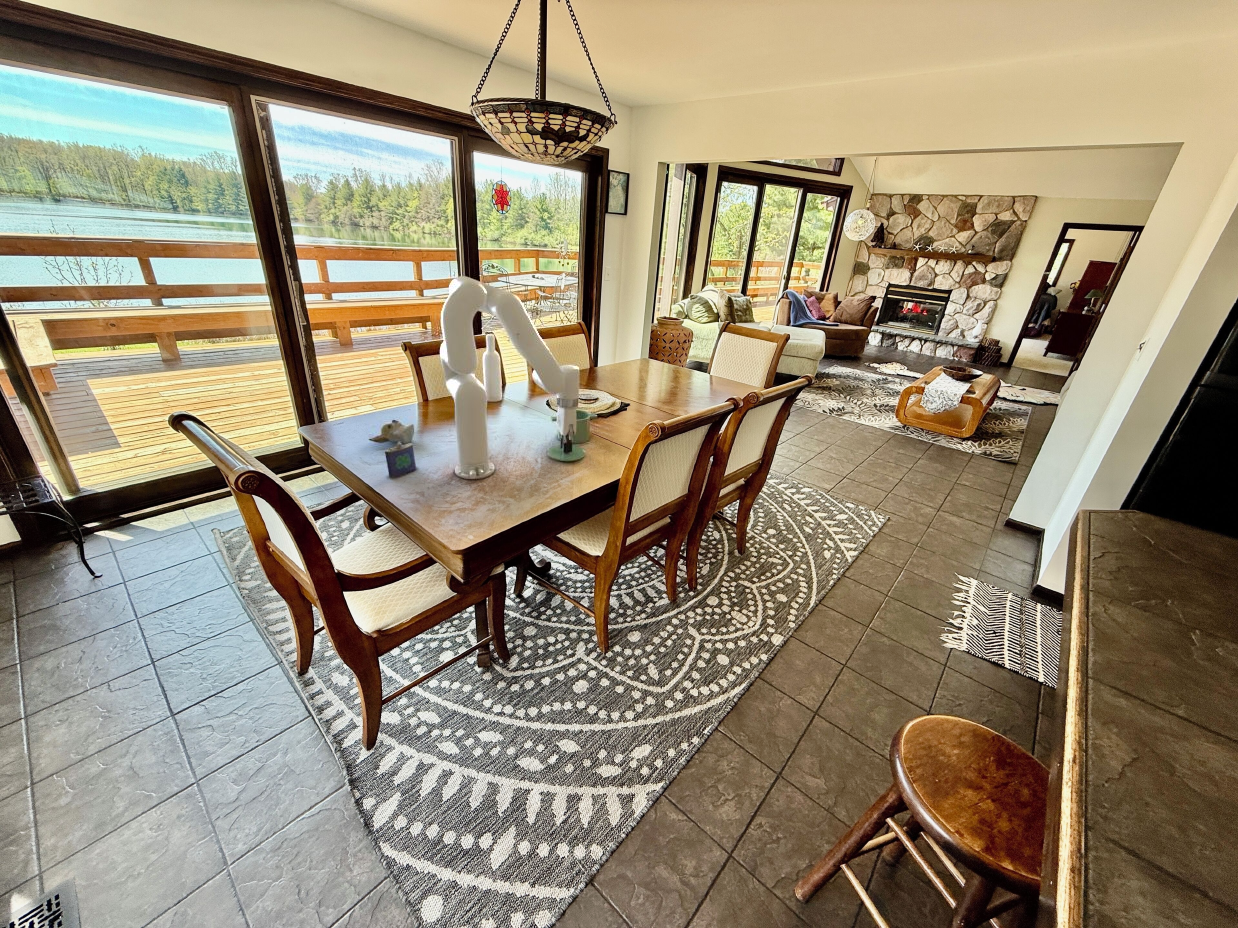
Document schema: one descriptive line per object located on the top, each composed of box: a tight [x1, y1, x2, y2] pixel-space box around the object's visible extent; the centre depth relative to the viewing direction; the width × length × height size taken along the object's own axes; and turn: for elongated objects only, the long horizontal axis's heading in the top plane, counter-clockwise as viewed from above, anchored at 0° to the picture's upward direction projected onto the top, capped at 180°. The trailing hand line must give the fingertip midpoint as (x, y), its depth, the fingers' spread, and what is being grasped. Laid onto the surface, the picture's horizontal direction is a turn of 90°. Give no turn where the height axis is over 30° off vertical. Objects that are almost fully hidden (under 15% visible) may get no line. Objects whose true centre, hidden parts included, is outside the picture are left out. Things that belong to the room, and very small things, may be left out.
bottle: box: [482, 333, 503, 403], centre depth 220 cm, size 8×8×30 cm
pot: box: [550, 409, 598, 445], centre depth 189 cm, size 13×18×10 cm
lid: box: [546, 436, 586, 462], centre depth 173 cm, size 14×14×7 cm
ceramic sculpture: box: [368, 419, 415, 444], centre depth 175 cm, size 11×9×15 cm
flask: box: [384, 441, 417, 479], centre depth 153 cm, size 9×3×11 cm, turn 144°
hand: (566, 449), depth 174 cm, fingers closed on lid, 2 cm apart
